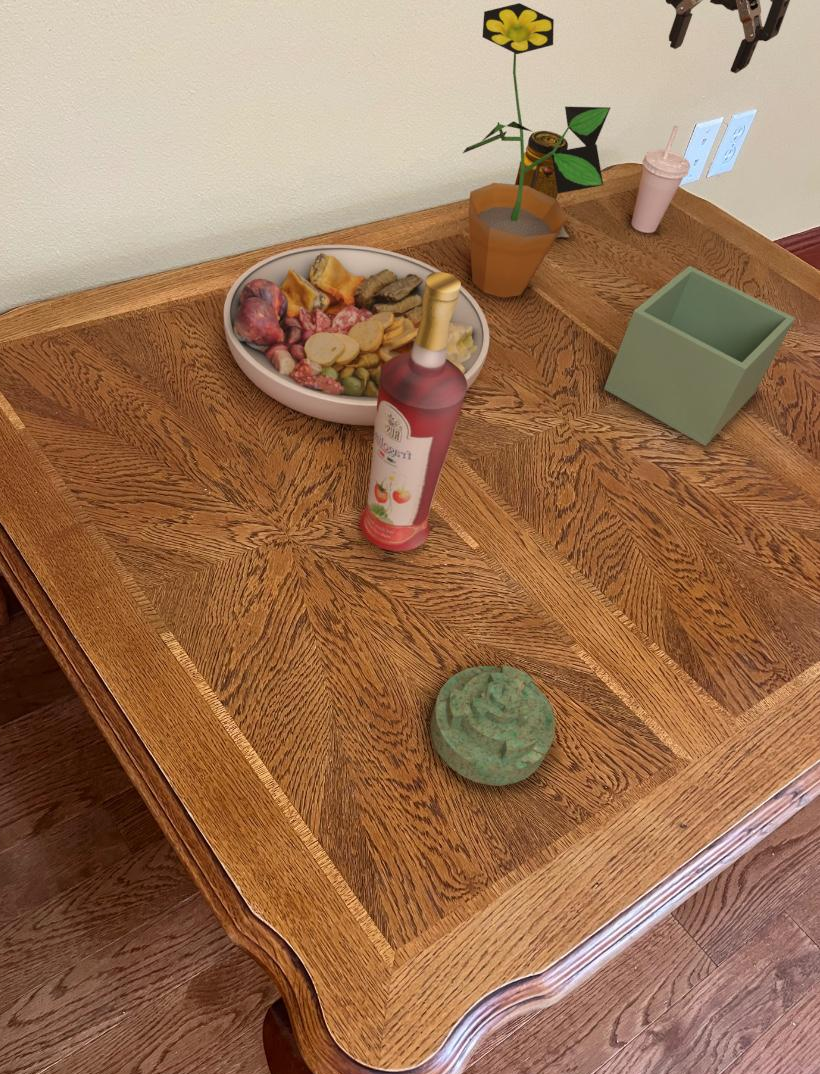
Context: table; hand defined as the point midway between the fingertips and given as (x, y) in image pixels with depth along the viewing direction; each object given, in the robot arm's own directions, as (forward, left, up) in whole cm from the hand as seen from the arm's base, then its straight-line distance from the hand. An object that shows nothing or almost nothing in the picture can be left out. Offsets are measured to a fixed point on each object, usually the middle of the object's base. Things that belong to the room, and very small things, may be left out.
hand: (704, 58), depth 118 cm
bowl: (+54, -9, -23) cm, 60 cm away
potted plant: (+28, -6, -23) cm, 37 cm away
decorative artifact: (+85, +32, -23) cm, 94 cm away
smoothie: (-1, 0, -23) cm, 23 cm away
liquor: (+73, +12, -23) cm, 78 cm away
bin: (+30, +22, -23) cm, 44 cm away
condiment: (+12, -11, -23) cm, 29 cm away
